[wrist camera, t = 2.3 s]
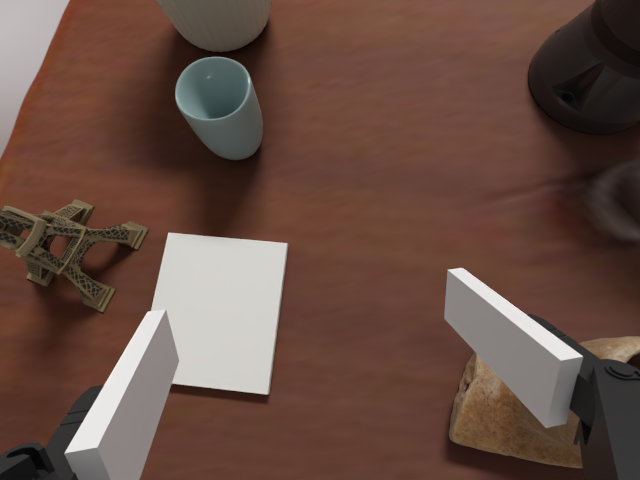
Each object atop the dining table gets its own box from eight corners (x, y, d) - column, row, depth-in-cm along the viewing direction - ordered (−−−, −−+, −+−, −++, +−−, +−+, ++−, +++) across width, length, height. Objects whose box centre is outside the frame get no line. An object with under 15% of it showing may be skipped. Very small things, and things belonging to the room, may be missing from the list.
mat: (172, 234, 40) (168, 232, 39) (288, 245, 39) (287, 243, 38) (141, 377, 36) (135, 379, 35) (269, 392, 35) (267, 394, 34)
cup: (273, 118, 44) (257, 58, 34) (263, 172, 42) (243, 125, 32) (215, 112, 44) (183, 52, 35) (203, 166, 42) (165, 118, 33)
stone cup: (600, 347, 35) (787, 359, 21) (600, 473, 32) (816, 590, 18) (454, 316, 37) (534, 309, 22) (441, 435, 34) (524, 516, 19)
